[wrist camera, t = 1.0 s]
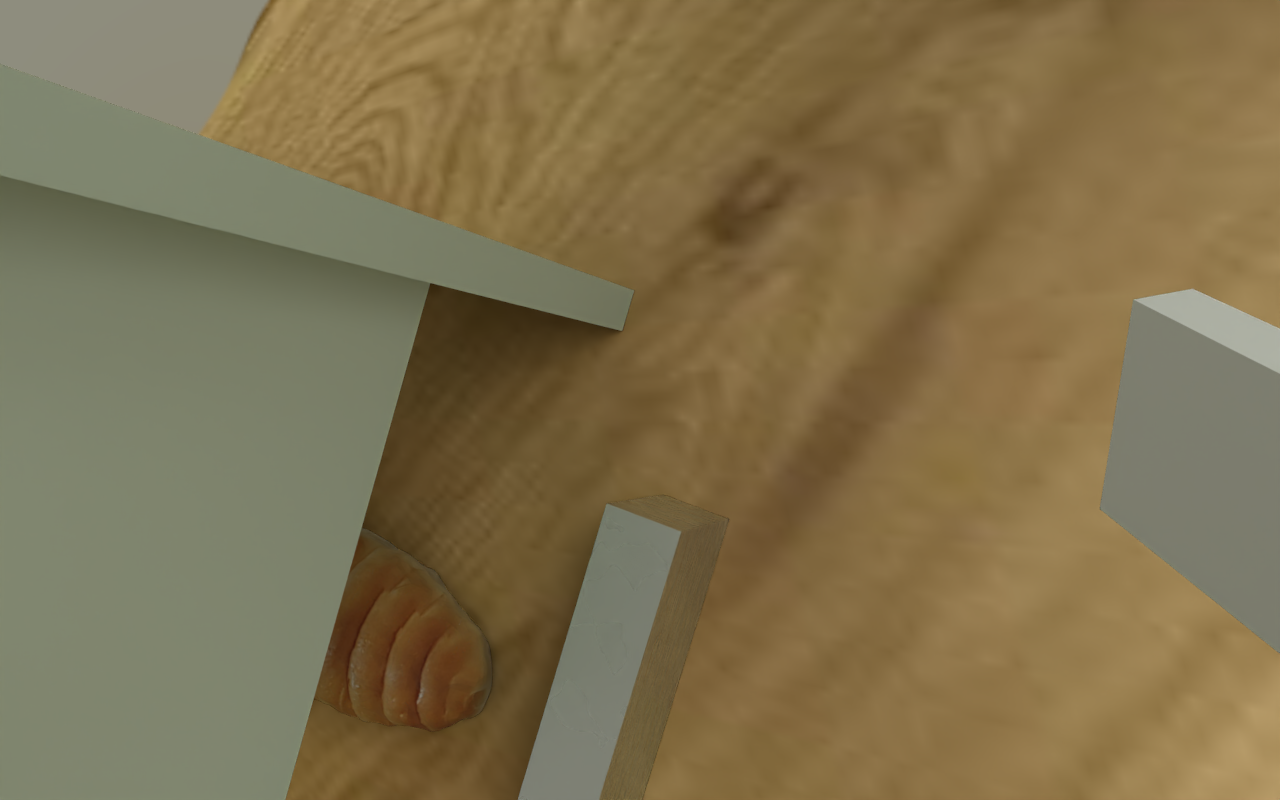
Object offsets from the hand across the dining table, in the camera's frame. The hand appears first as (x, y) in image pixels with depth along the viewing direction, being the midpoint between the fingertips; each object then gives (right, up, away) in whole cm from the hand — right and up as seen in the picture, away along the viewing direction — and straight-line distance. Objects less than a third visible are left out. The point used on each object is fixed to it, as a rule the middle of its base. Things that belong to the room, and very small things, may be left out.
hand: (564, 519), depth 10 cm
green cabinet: (-8, -2, +29) cm, 30 cm away
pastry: (-9, -7, +30) cm, 32 cm away
